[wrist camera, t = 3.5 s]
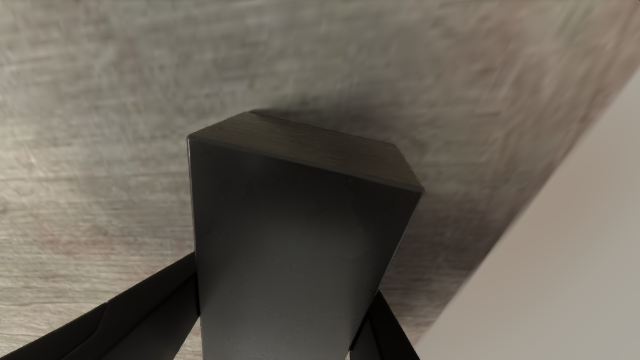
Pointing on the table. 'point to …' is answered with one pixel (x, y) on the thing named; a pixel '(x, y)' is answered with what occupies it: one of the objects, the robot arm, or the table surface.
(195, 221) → the charcoal bar
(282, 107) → the table surface
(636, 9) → the table surface
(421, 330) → the table surface
